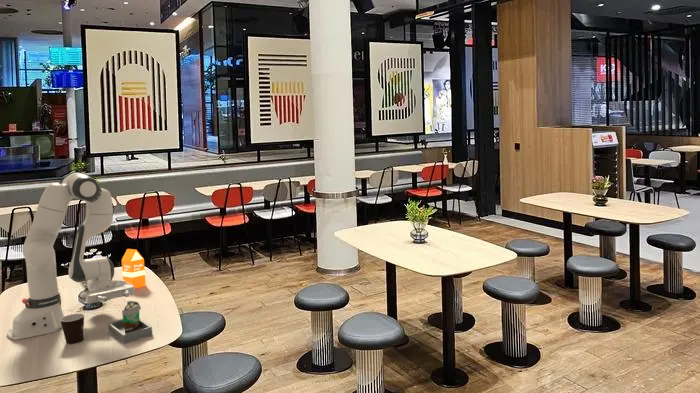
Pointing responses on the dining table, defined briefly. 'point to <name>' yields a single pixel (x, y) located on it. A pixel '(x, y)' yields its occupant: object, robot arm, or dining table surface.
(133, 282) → the orange juice
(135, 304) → the ice cream cake half
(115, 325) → the bin
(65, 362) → the dining table surface
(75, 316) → the coffee mug
